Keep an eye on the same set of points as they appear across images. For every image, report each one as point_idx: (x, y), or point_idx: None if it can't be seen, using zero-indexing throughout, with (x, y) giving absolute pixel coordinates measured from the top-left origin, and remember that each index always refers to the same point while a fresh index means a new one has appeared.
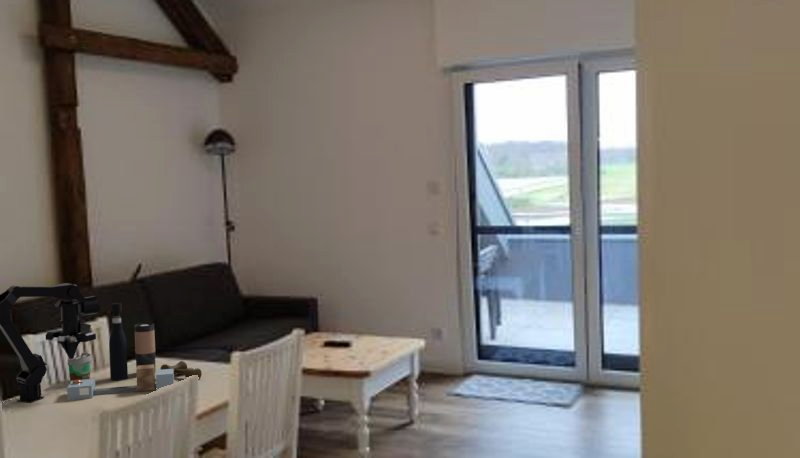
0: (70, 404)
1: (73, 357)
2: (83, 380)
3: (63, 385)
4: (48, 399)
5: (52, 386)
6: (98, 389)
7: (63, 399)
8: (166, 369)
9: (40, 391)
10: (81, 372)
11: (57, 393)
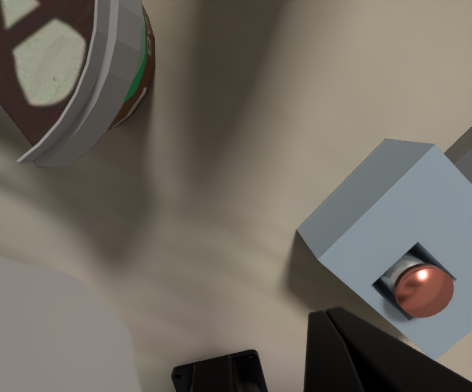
0: (458, 341)
1: (348, 316)
2: (395, 218)
3: (99, 160)
4: (293, 348)
5: (64, 206)
6: (469, 172)
7: (361, 315)
8: None
9: (232, 376)
10: (140, 55)
11: (235, 273)
